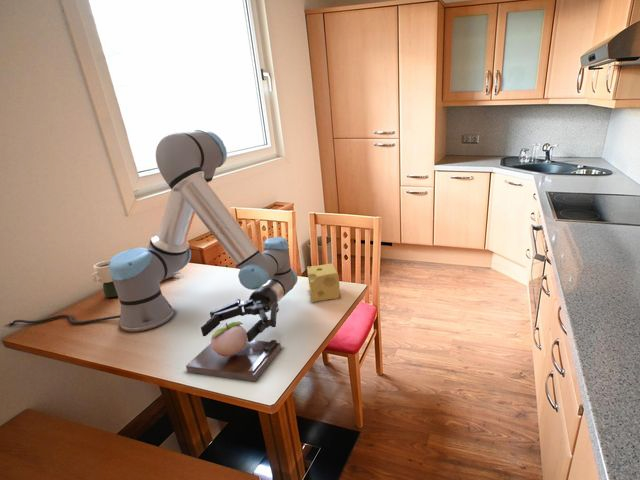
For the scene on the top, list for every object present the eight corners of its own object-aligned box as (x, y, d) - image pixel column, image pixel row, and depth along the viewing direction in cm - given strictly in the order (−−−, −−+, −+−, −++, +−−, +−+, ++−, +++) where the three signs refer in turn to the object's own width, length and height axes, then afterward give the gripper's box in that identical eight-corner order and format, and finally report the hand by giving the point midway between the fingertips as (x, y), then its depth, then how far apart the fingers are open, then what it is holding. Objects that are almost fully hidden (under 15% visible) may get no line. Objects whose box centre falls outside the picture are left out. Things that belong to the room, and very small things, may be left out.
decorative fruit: (232, 369, 98) (225, 336, 94) (209, 361, 101) (201, 329, 97) (257, 349, 105) (252, 318, 102) (235, 342, 109) (229, 312, 105)
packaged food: (167, 270, 164) (164, 260, 162) (181, 277, 157) (178, 266, 155) (146, 278, 157) (142, 267, 155) (160, 285, 151) (157, 274, 149)
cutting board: (187, 372, 100) (184, 362, 99) (219, 341, 113) (217, 332, 112) (255, 381, 96) (253, 371, 95) (281, 348, 109) (279, 339, 107)
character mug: (122, 287, 150) (112, 257, 145) (135, 290, 147) (125, 259, 142) (94, 300, 140) (83, 268, 135) (107, 303, 138) (96, 270, 133)
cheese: (311, 303, 133) (308, 277, 129) (308, 289, 143) (305, 265, 139) (340, 298, 136) (338, 273, 132) (336, 285, 145) (334, 261, 141)
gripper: (304, 310, 117) (270, 352, 98) (233, 303, 123) (187, 341, 104) (302, 289, 114) (266, 327, 95) (229, 283, 120) (181, 317, 101)
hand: (225, 334), depth 99 cm, fingers open, 13 cm apart
